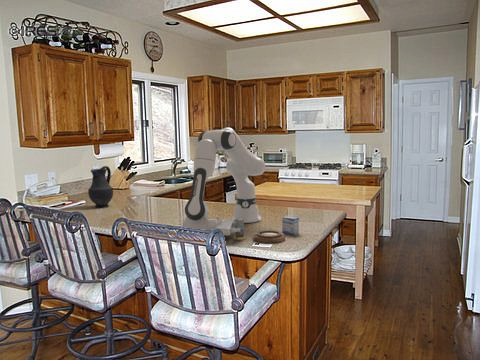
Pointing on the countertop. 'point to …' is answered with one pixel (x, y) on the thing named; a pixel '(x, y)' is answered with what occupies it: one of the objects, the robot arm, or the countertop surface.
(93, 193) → the pitcher
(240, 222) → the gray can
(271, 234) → the ring
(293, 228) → the medicine box
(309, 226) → the countertop surface
